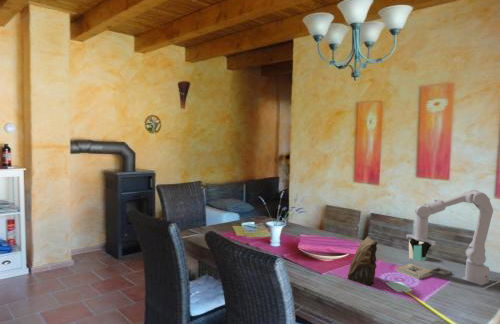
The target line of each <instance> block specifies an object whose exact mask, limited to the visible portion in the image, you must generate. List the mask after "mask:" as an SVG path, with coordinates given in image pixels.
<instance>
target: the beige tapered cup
mask: <svg viewBox="0 0 500 324" xmlns="http://www.w3.org/2000/svg"><path fill="white" fill-rule="evenodd" d="M410 240H411V239H408V258H409V259H411V260H414V259H413V249H412V246H411V244H410ZM422 243H424V242H420V241H419V244H422Z"/></svg>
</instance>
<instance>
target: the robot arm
mask: <svg viewBox="0 0 500 324" xmlns="http://www.w3.org/2000/svg"><path fill="white" fill-rule="evenodd" d="M460 203H468V204H473V205H474V206H475V208H477V209H478V210H479V213H478V217H477V222H476V226H475V229H474V233H473V238H472V241H471V242H470V243H469V245H468V247H467V248H466V249H465V252H464V253H465V256H466V261H465V262H466V263H465V273H464V274H465V275H464V276H462V277H461V279H462V280H465V281H467V282H471V283H474V284H476V285H480V286H484V285H486V284H488V283H490V272H491V271H490V267H489V266H487V265H485V263H486V261H487V257H486V247H485V245H486V241H487V237H488V233H489V229H490V226H491V222H492V217H493V214H494V208H493V205H492V203H491V199H490V197H489V196H488V195H487V194H486V193H485V192H481V191H479V190H477V189H472V190H469V191H464V192H463V193H459V194H457V195H454V196H452V197H449V198H447V199H444V200H441V199H436V198H435V199H434V200H433V201H430V202H425V203H424V204H420V205H419V204H418V205H417V207H416V208H415V209H414V211H415V214H416V216H415V226H414V227H415V228H414V234H410V233H408V234H406V238H405V239H408V240H410V244H411V246H412V249H413V251H414V245H418V244H419V241H420V242H424V243H422V244H421V245H422V257H426V258H427V254H428V251H429V250H430V248H431V247H432V246H436V245H437V244H436V243H437V241H435V240H433V239H430V238H428V232H429V231H428V229H429V217H430V216H431V215H434V214H437V213H440V212H443V211H445V210H446V208H447V207H450V206H453V205H457V204H460Z"/></svg>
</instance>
